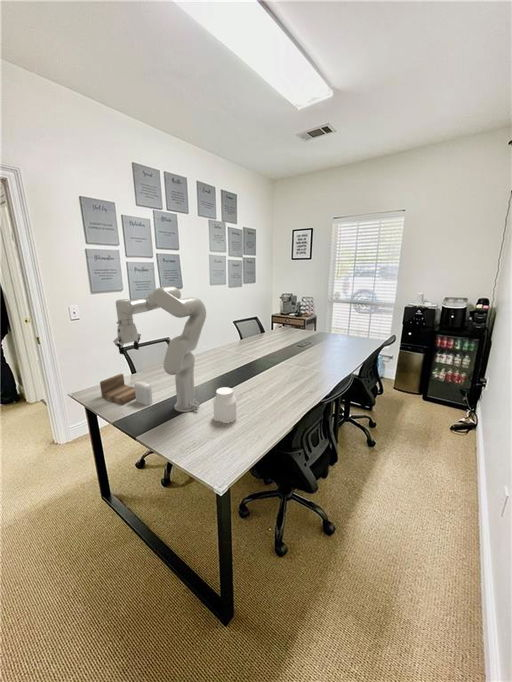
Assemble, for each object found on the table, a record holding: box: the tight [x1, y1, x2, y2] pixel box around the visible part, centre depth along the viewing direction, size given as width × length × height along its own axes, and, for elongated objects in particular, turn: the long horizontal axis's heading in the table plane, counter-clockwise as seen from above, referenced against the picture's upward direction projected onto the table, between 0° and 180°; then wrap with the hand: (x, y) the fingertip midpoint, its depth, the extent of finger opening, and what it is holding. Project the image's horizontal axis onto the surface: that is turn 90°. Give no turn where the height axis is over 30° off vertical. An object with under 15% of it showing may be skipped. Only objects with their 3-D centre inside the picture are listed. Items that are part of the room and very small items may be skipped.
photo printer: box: [134, 380, 153, 406], centre depth 155 cm, size 10×4×12 cm, turn 60°
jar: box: [212, 386, 238, 424], centre depth 140 cm, size 12×10×15 cm
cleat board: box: [99, 373, 136, 405], centre depth 163 cm, size 18×14×10 cm
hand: (129, 351), depth 158 cm, fingers open, 9 cm apart
